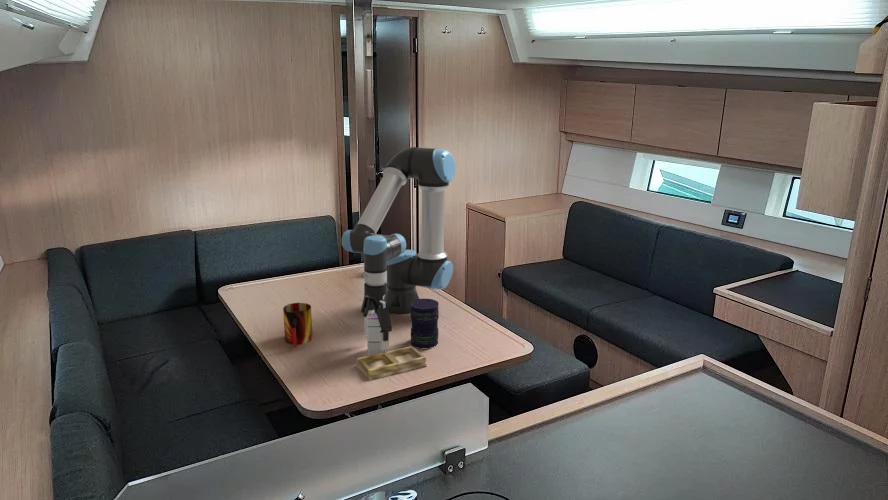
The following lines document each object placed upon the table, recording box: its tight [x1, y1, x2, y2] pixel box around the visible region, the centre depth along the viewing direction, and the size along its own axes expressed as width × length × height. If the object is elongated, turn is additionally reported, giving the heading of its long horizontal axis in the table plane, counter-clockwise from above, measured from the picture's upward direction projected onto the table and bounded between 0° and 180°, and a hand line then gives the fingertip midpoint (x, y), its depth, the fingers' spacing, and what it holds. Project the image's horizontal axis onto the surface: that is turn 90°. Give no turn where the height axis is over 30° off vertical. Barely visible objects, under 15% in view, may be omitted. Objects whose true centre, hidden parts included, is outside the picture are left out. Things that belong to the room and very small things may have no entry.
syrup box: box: [366, 310, 387, 356], centre depth 219 cm, size 6×6×14 cm
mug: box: [282, 302, 314, 349], centre depth 228 cm, size 10×14×12 cm
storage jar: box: [410, 298, 440, 349], centre depth 227 cm, size 10×10×15 cm
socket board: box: [356, 345, 427, 381], centre depth 211 cm, size 20×11×3 cm, turn 120°
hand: (376, 341), depth 220 cm, fingers open, 13 cm apart
